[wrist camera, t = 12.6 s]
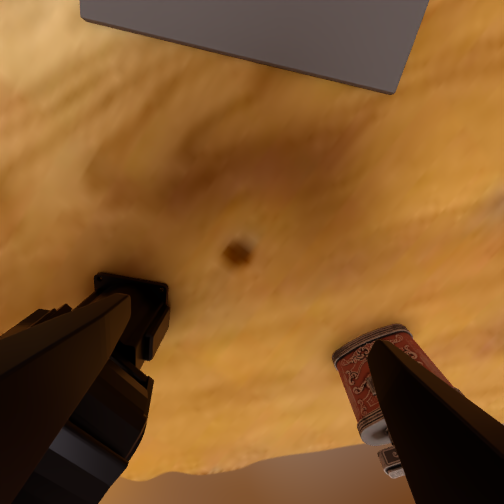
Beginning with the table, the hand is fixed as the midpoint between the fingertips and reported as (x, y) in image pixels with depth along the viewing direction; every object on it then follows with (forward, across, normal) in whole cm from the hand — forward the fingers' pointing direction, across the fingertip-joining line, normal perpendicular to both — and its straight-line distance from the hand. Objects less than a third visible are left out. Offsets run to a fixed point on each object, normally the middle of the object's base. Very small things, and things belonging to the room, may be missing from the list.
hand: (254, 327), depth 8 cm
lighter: (+12, -14, +10) cm, 21 cm away
